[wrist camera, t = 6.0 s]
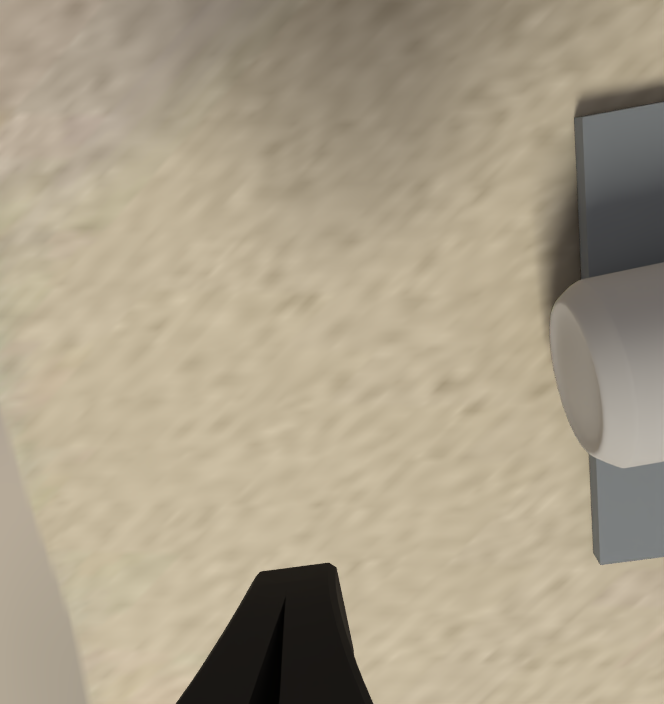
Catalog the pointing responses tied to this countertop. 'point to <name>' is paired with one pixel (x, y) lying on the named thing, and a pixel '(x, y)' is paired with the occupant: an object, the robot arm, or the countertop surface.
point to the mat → (613, 256)
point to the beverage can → (613, 364)
